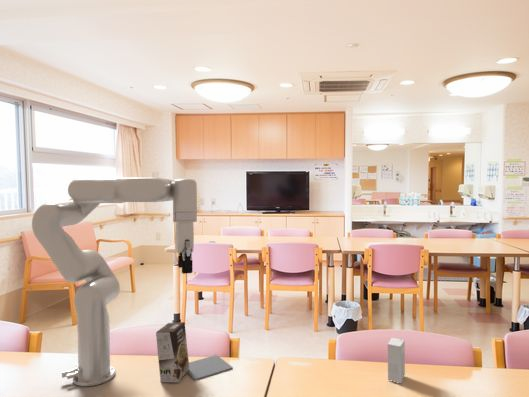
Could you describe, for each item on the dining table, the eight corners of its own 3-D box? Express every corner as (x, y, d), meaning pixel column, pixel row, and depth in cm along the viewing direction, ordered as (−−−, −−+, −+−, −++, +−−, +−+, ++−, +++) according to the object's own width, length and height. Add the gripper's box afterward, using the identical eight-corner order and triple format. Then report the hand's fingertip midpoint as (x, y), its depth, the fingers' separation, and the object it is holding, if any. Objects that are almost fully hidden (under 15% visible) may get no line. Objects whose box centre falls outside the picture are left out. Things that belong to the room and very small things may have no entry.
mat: (194, 380, 119) (194, 379, 119) (180, 366, 128) (180, 364, 128) (232, 368, 126) (232, 367, 126) (216, 356, 136) (216, 354, 136)
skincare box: (391, 373, 123) (391, 337, 123) (405, 376, 121) (405, 339, 120) (387, 381, 118) (387, 343, 117) (401, 384, 115) (401, 346, 115)
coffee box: (178, 382, 116) (173, 331, 116) (160, 382, 117) (154, 332, 117) (190, 368, 125) (185, 321, 125) (172, 369, 126) (167, 322, 126)
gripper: (170, 215, 126) (170, 265, 127) (175, 219, 110) (176, 276, 110) (192, 215, 129) (192, 264, 129) (201, 218, 113) (201, 274, 113)
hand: (185, 270), depth 120 cm, fingers open, 9 cm apart
